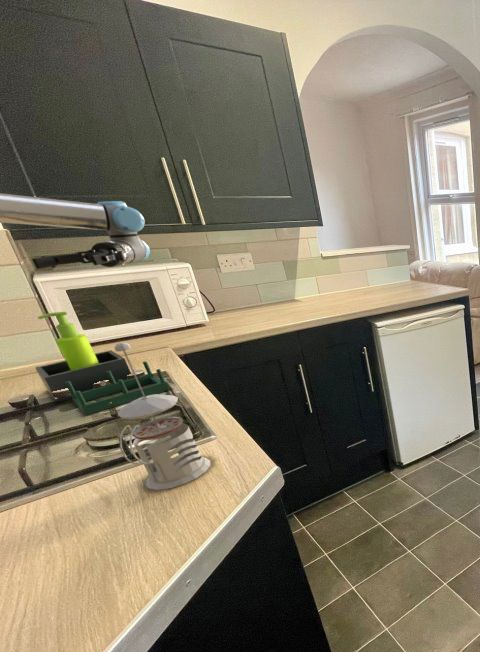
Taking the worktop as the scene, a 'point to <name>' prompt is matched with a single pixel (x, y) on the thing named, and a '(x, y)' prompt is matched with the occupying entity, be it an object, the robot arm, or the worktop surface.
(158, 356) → the worktop surface
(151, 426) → the french press
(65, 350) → the soap dispenser
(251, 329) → the worktop surface
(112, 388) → the dish rack
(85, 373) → the basin
